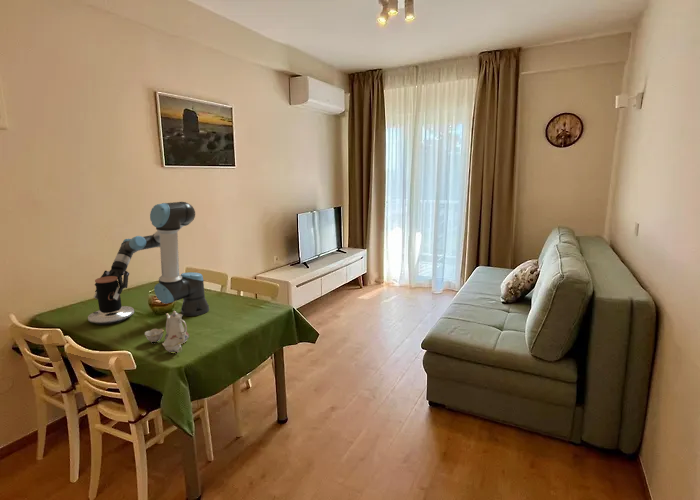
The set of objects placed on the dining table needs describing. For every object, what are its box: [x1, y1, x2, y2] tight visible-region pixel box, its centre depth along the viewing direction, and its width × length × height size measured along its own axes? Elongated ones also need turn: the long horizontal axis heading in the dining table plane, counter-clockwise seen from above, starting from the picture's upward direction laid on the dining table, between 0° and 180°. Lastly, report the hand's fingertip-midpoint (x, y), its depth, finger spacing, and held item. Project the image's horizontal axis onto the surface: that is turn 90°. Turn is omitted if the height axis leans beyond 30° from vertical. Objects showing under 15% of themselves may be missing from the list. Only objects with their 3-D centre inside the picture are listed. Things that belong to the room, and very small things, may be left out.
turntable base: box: [95, 317, 129, 326], centre depth 217 cm, size 16×16×2 cm
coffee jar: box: [94, 276, 123, 313], centre depth 214 cm, size 11×11×18 cm
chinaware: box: [144, 310, 190, 354], centre depth 184 cm, size 28×17×17 cm, turn 57°
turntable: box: [87, 305, 135, 324], centre depth 217 cm, size 22×22×2 cm
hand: (105, 298), depth 212 cm, fingers closed on coffee jar, 11 cm apart
